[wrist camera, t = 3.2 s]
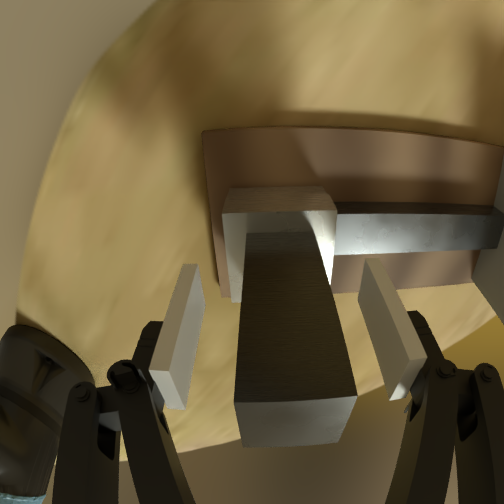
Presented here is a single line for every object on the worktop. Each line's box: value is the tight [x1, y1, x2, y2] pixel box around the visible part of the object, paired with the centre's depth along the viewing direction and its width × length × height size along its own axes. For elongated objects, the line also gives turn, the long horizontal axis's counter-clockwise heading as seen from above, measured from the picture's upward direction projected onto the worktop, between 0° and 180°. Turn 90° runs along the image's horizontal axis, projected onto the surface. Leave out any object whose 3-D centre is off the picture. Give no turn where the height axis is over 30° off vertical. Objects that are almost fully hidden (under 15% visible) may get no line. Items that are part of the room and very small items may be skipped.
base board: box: [202, 126, 504, 297], centre depth 21 cm, size 31×13×1 cm, turn 93°
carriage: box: [222, 186, 358, 447], centre depth 15 cm, size 6×6×14 cm
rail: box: [333, 201, 504, 255], centre depth 20 cm, size 22×3×2 cm, turn 93°
